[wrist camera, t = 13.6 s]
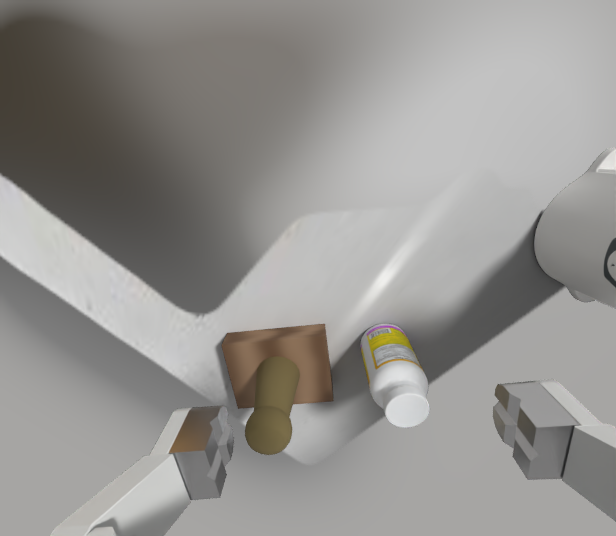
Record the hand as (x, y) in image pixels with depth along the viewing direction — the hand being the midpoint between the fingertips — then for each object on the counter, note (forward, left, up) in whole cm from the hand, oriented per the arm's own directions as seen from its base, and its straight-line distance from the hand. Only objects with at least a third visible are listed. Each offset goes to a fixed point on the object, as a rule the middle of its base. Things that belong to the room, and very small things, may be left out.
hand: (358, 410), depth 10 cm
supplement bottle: (-6, +19, -31) cm, 37 cm away
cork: (+9, +21, -28) cm, 36 cm away
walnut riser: (+9, +21, -31) cm, 39 cm away
